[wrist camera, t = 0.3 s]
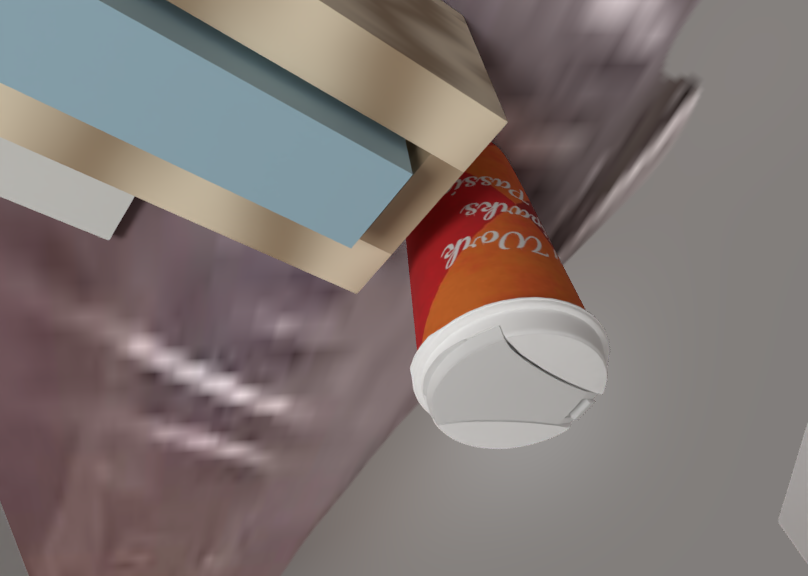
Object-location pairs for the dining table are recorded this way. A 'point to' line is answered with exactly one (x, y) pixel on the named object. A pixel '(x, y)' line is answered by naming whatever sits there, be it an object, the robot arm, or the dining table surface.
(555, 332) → the coffee cup
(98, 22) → the bar
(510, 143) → the dining table surface
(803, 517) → the robot arm
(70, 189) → the mat
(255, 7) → the jig
